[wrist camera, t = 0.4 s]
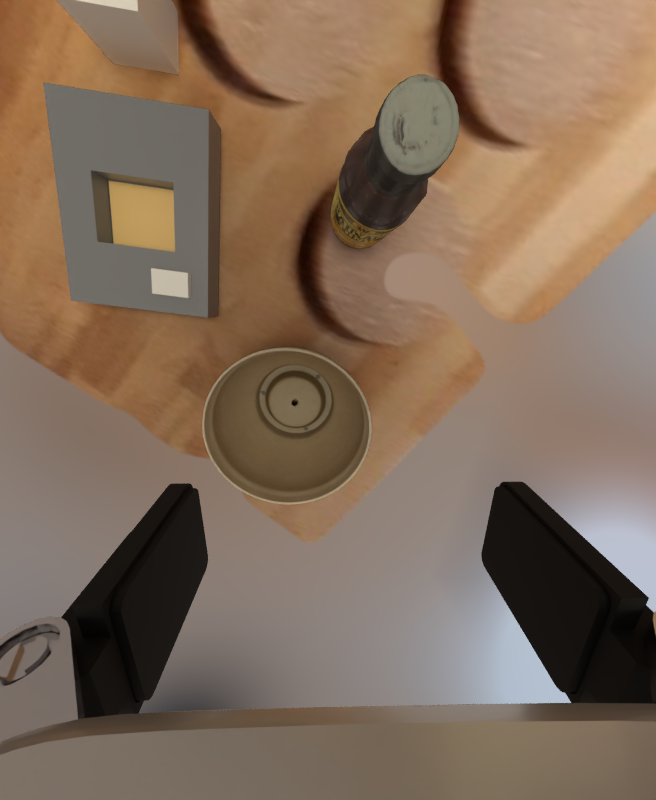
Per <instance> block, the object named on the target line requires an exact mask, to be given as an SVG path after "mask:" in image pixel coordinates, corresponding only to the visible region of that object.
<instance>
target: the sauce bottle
mask: <svg viewBox="0 0 656 800" xmlns="http://www.w3.org/2000/svg"><path fill="white" fill-rule="evenodd" d="M458 131H459V114H458V105H457V104H456V102H455V98H454V96H453V94H452V93H451V91H450V90H449V88H448V87H447V86H446V85H445V84H444V83H443V82H441V81H439V80H438V79H435V78H432V77H430V76H427V75H415V76H411V77H409V78H407V79H406V80H404V81H402V82H400V83H399V84H398V85H397V86H396V87H395V88H394V89H392V90H391V92H390V93H389V94H388V96H387V97H386V99H385V100H384V103H383V105H382V106H381V108H380V110H379V113H378V115H377V118H376V122H375V125H374V127H372V128H370V129H368V130H367V131H365V132H364V133H363V134H362V135H361V137H360V138H359V139H358V140H357V141H356V142H355V143H354V145H353V146H352V148H351V149H350V150H349V151H348V154H347V156H346V159H345V163H344V164H343V167H342V169H341V172H340V176H339V180H338V183H337V187H336V191H335V195H334V198H333V202H332V207H331V222H332V226H333V230H334V232H335V233H336V235H337V236H338V237H339V238H340V240H341V241H342V242H343V243H345V244H346V245H348V246H351V247H354V248H366V247H370V246H372V245H374V244H375V243H377V242H378V241H380V240H381V239H382V238H384V237H385V236H386V235H387V234H389V233H390V232H391V231H393V230H394V229H396V228H397V227H399V226H400V225H401V224H402V223H404V222H405V221H406V220H407V218H408V217H409V216H410V214H411V213H412V212H413V211H414V209H415V208H416V207H417V206H418V204H419V203H420V202H421V200H422V199H423V198H424V197H425V196H426V193H427V184H428V178H429V177H431V176H432V175H433V174H434V173H435V172H436V171H437V170H438V169H439V168H440V167H441V165H442V164H443V163H444V162H445V161H446V160H447V158H448V157H449V155H450V154H451V152H452V150H453V149H454V146H455V143H456V140H457V137H458Z"/></svg>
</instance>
